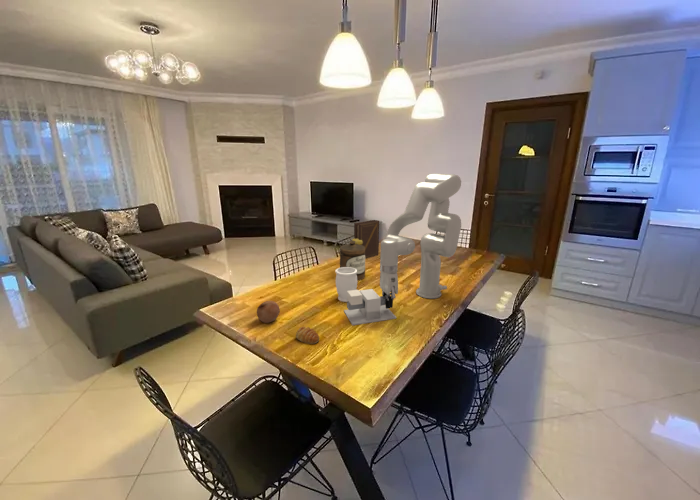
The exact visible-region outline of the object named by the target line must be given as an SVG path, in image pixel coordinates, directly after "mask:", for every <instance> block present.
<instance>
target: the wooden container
mask: <svg viewBox="0 0 700 500" xmlns="http://www.w3.org/2000/svg"><path fill="white" fill-rule="evenodd" d="M342 267H352V268H355V269H357V273H356V275H357V282H358V281H361V280H364V279H365V277H366V259H365V246H363V245H359V244H355V241H353V240H352V239H351V240H350V241H349V243H347V244H346V243H345V244H342V245H341V246H340V247H339V268H342Z"/></svg>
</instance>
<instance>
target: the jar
mask: <svg viewBox="0 0 700 500" xmlns="http://www.w3.org/2000/svg"><path fill="white" fill-rule="evenodd" d="M356 273H357V269H355V268H352V267H342V268H340V267H338V268H336V269H335V274H336V276H335V287H336V292H337V294H338V296H337V299H338V300H339V301H340V302H343V303H347V301H348V300H347V291H351V290H357V287H358V281H357V275H356Z"/></svg>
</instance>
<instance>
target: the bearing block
mask: <svg viewBox="0 0 700 500" xmlns="http://www.w3.org/2000/svg"><path fill="white" fill-rule="evenodd" d="M359 291H360V293H361V294H362V295H363V298H362V299H364V301H365V308H361V309H355V310H349V309H348V308H347V309H344V310H343V313H344V314H345V316H346V317H347V319H348V320H349V322H350V324H351V326H357V325H364V324H370V323H377V322H382V321H389V320H395V319H397V316H396V315H395V314H394V313H393V312H392V311H391V309H390V308H387V309H386V305H382V306H381V298H380V296H379V294H378V293H377V292H376V291H375V290H374V289H373V288H369V289H362V290H361V289H360V290H359Z"/></svg>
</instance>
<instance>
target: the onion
mask: <svg viewBox="0 0 700 500" xmlns="http://www.w3.org/2000/svg"><path fill="white" fill-rule="evenodd" d="M280 312H281V309H280V306H279V305H278V303H277V302H276V301H274V300H266V301H264V302H262V303H261V304H259V305H258V306H257V309H256V316H257V319H259V320H258V321H261V322H262V323H265V324H268V323H271V322H274V321H275V320H277V318H278V317H279V315H280Z"/></svg>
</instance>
